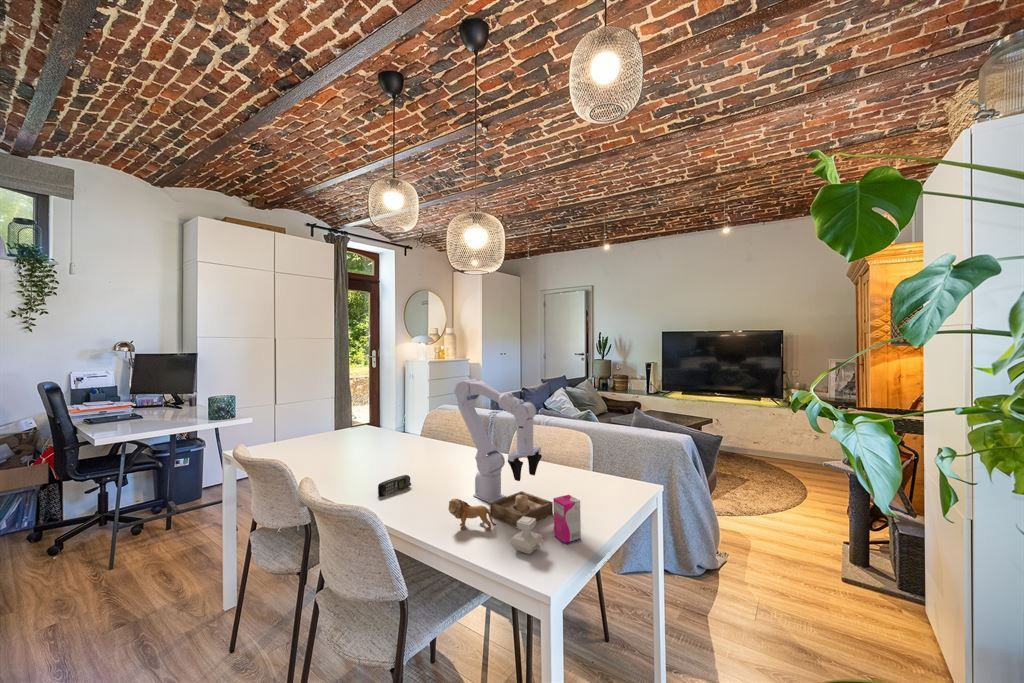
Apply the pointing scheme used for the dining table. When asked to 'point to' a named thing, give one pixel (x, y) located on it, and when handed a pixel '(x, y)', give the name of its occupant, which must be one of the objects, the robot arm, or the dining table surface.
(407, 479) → the mobile phone
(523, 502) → the oak dowel
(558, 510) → the supplement box
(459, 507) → the tan animal figurine
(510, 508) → the walnut box
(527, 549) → the stamp
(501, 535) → the dining table surface
